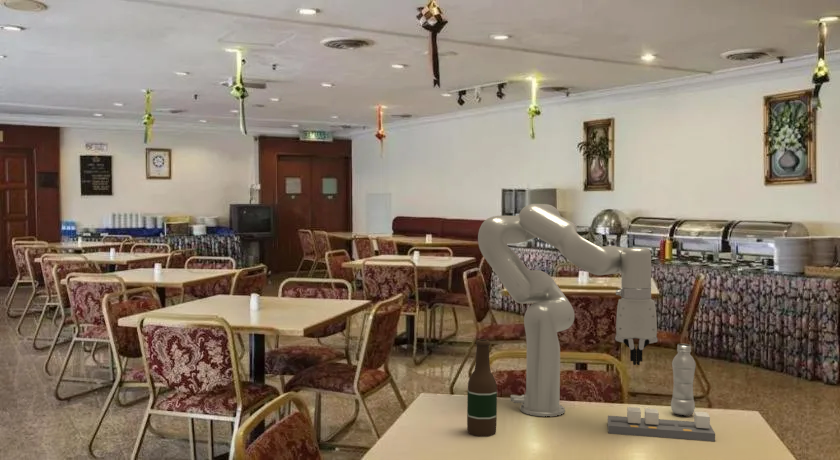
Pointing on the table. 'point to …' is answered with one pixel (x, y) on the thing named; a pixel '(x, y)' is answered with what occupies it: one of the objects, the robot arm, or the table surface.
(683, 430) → the switch deck
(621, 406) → the table surface
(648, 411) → the slider
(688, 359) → the plastic bottle
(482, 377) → the beer bottle
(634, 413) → the slider
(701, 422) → the slider
